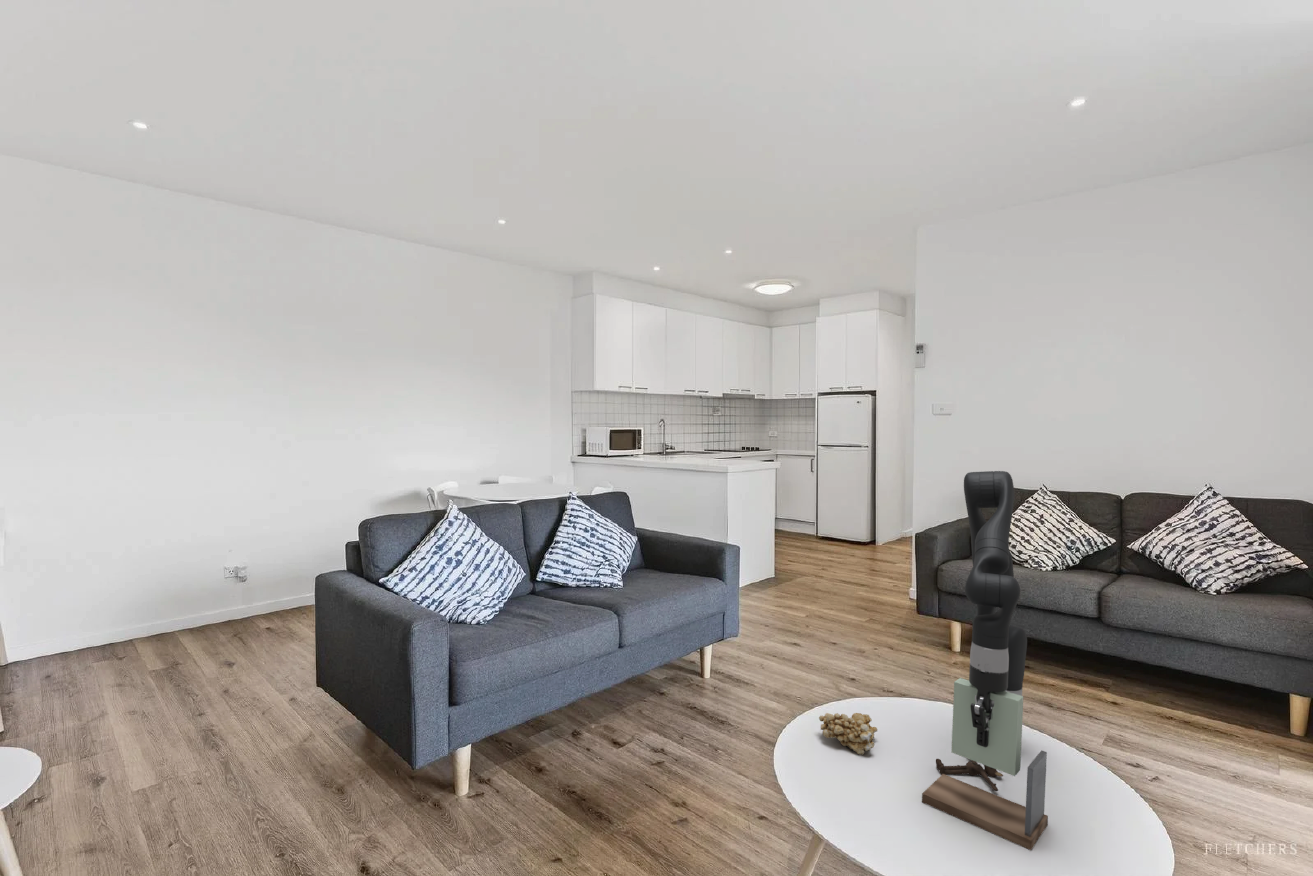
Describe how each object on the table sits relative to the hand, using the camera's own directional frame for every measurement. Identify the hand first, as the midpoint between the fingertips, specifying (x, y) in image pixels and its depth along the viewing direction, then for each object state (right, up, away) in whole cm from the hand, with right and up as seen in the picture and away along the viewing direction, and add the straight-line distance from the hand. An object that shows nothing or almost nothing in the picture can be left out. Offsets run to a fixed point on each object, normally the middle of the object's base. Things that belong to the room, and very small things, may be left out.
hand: (985, 742), depth 141 cm
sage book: (0, -4, 0) cm, 4 cm away
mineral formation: (-21, -15, +31) cm, 40 cm away
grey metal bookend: (+7, -14, -7) cm, 17 cm away
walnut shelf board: (0, -16, 0) cm, 16 cm away
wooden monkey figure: (+4, -16, +17) cm, 24 cm away
